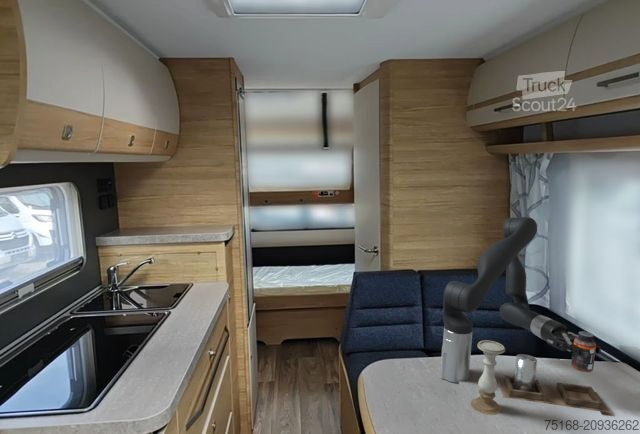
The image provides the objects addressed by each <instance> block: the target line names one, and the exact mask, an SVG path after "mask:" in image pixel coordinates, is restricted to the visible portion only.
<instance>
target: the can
mask: <svg viewBox="0 0 640 434" xmlns="http://www.w3.org/2000/svg"><path fill="white" fill-rule="evenodd" d="M537 365H538V359H537V358H536V357H535V356H533V355H529V354H524V353H519V354H517V355H516V357H515V367H514V387H513V389H515V390H522V391H529V392H534V386H535V379H536V376H537V375H536V374H537Z"/></svg>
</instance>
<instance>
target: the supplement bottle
mask: <svg viewBox="0 0 640 434" xmlns="http://www.w3.org/2000/svg"><path fill="white" fill-rule="evenodd" d="M577 335H578V337H577V338H575V340H574V345H576V346H578V347H580V348H582V349H583V350H584V354H583V356H579V355H578V354H576V353H574V352H571V353H572V354H571V362H570V365H571V367H572V368H573V369H575V370H576V371H579V372H582V373H583V372H584V373H591V372H593V370H594V367H595V366H594V365H595V357H596V353H595V351H596V345H597V343H596V342H595V340H594V337H595V336H594V334H593V333H591V332H588V331H584V330H583V331H579V332H578V334H577Z"/></svg>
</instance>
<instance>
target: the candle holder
mask: <svg viewBox="0 0 640 434" xmlns="http://www.w3.org/2000/svg"><path fill="white" fill-rule="evenodd" d="M476 346H477V348H478V349H479V350H480V351H482V352H483V354H484V358H483V360H482V362H483V363H484V366H483V372H482V374H481V376H480V377H479V379H478V382H477V384H478V388H479V389H478V394H479V396H478V397H476V398H473V399H472V400H471V401H470V407H471V408H472V409H474V411H477V412H479V413H480V414H484V415H487V416H488V415H489V416H494V415H495V416H496V415H498V414H501V413H502V407H501V406H500V405H499V404H498V402H497V401H496V400H494V399H495V398H496V393H495V392H496V391H497V389H498V387H499V385H498V380H497V379H496V375H495V366H497V361H496V357H498V356H499V355H501V354H503V353H505V352H506V347H505V346H504V345H503V344H501V343H500V342H497V341H494V340H481V341H478V343H477V345H476Z"/></svg>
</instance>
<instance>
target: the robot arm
mask: <svg viewBox="0 0 640 434" xmlns="http://www.w3.org/2000/svg"><path fill="white" fill-rule="evenodd" d="M501 229H502V230H501V231H502V240H501V239H500V240H498V241H497V242H494V243H493V244H492V245H489V246H488V247H487V248H486V249H485V250H484V252H483V253H482V254H480V257H479V258H478V260H477V263H476V264H477V273H478V274H477V275H478V278H477V280H476V281H475V282H474V283H472V284H469V283H464V282H461V281H457V280H451V281H449V282H448V283H447V284H446V286H445V288H444V291H443V297H442V298H443V299H442V300H443V301H442V302H443V303H442V306H443V307H442V309H443V310H442V311H443V312H442V319H443V323H444V324H443V325H444V327H443V337H442V338H443V339H442V344H441V345H442V346H441V358H440V361H441V362H440V379H442V380H446V381H448V382H450V383H454V384H455V383H456V384H459V383H460V382H463V381H467V380H468V379H469V377H470V365H471V356H472V355H471V353H472V342H473V341H472V340H473V331H474V330H473V328H474V324H473V322H472V320H471V319H469V318H468V317H467V316H466V315H465V314H464V313H467V314H471V313H474V312H476V310H477V309H478V308H479V307H480V306H481V304H482V302H483V300H484V299H485V297H486V296H487V294H488V293H489V291H490V289H491V288H492V287H493V285H494V284H495V282H496V281H497V280H498V278H500V277H501V275H502V274H503V273H504V272H505V275H506V276H505V294H506V295H507V296H510V297H511V298H512V299H513V302H505V303H503V304H501V306H500V307H499V315H500V317H501V318H502V319H503V320H504V321H505V322H507V323H509V324H512V325H514V326H517V327H520V328H522V329H524V330H527V331H528V332H530V333H532V334H533V335H535V336H537V337H538V338H540V339H541V340H543V341H545V342H546V343H547V345H549V346H552V347H553V348H555V349H558V350H559V351H562V352H565V351H568V352H571V353H573V352H574V353H576V354H578V355H579V356H583V354H584V350H583V349H582V348H580V347H578V346H576V345H574V340H575V338H577V337H578V334H575V333H574V332H570V331H569V329H568V328H567V326H566V325H565V324H563V323H561V322H558V321H556V320H554V319H552V318H550V317H548V316H545V315H542V314H540V313H539V312H536V311H533V310H531V309H530V308H531V307H530V304H529V299H528V296H527V292H526V291H527V273H526V270H525V268H524V266H523V263H522V262H521V259H520V257H519V256H518V255H519V253H520V252H521V251H522V250H523V249H524V248H525V247H527V245H528V244H530V243H531V242H532V241H533V240H534V238H535V237H536V235H537V231H538V224H537V222H536V220H535V219H534V218H532V217H527V216H519V217H517V216H515V217H508V218H506V219H505V220H504V221H503V223H502V228H501ZM601 349H602V348H601V346H599V345H597V344H596V351H595V354H597V355H600V354H601V353H602V352H601V351H602V350H601Z"/></svg>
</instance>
